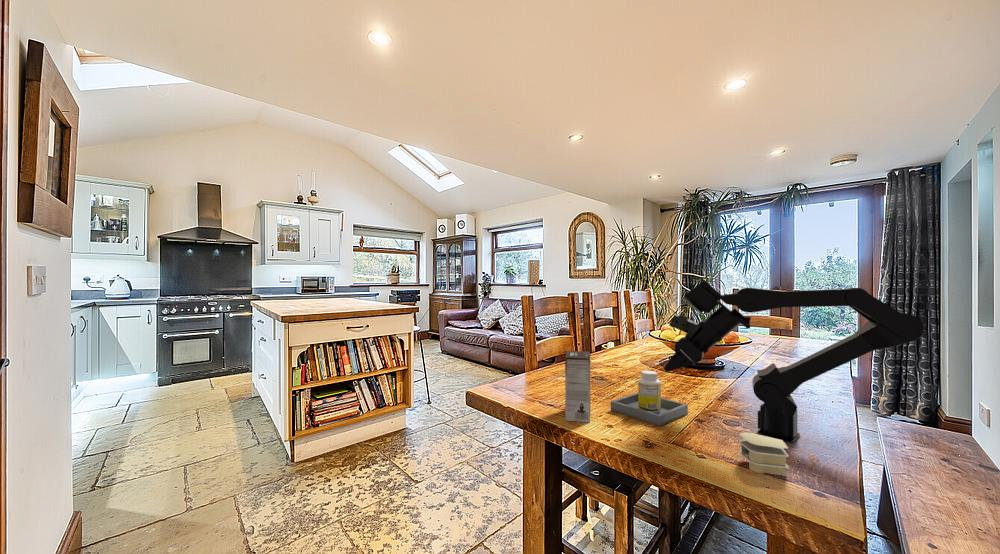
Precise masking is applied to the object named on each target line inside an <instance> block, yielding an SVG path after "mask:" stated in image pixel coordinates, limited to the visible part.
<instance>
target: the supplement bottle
mask: <svg viewBox="0 0 1000 554" xmlns="http://www.w3.org/2000/svg"><path fill="white" fill-rule="evenodd" d="M640 376H641V377H640V378H639V379H638V381H637V382H638V384H637V385H638V391H637V393H638V392H639V393H638V396H639V409H642V410H645V411H648V412H651V413H658V412H660V411H661V398H662V396H661V394H662V392H661V391H662V390H661V388H662V387H661V386H662V382H661V381H660V379H658V372H656V371H653V370H641V375H640Z"/></svg>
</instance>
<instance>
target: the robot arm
mask: <svg viewBox="0 0 1000 554" xmlns="http://www.w3.org/2000/svg"><path fill="white" fill-rule="evenodd" d="M682 298H683V299H684V300H685V301H686V303H688V304H689V305H691V306H692V308H694V309H695V310H696V311H697V312H698V313H700V314H702V313H703V312H704V313H706V314H709V316H708V317H706V318H705V319H704V320H701V321H700V322H699V323H697V322H695V321H694V320H691V319H689V318H688V316H685V315H683V314H678V313H674V314H673V316H672V318H671V320H670V322H669V324H668V326H669V327H671V328H674V329H677V330H679V331H680V332H684V333H685V336H683V337H681V338H680V339H678V340H677V341H676V342H675V344H674V350H675V351H674V354H673V355H672V357H671V358H670V360H669V361H668V362H667V363H666V365H664V367H663V370H664V371H665V372H666V373H667V372H672V371H675V370H678V369H682V368H685V367H689V366H693V365H696V364H698V363H699V362H700V361H702V359H703V358H704V356H705V355H704V354H706V353H707V352H709V351H710V350H711V349H712V348H713V347H714V346H715V345H717V344H718V343H720V342H721V341H722V340H723V339H724V338H725V337H726V336H728V335H729V334H730V333H731V332H732V331H734V330H735V329H736V328H737V327H739V326H740V325H742V326H744V327H745V328H746V329H748V330H749V329H750V328H751V316H744V315H743V314H742V313H741V312H740V311H742V312H744V313H757V312H763V311H769V310H775V309H779V308H800V307H801V308H805V307H806V308H808V307H810V308H814V307H817V308H818V307H850V308H851V309H852V310H853V311H854V312H856V313H858V314H859V316H861V317H863V318H864V319H865V320H867V321H866V322H865V323H864V324H863V325H862V326H861V327H859V329H857V331H855V332H854V333H853V334H851V335H849V336H847V337H845V338H843V339H840V340H839V341H837V342H835V343H833V344H831V345H829V346H827V347H824V348H822V349H820V350H819V351H816V352H814V353H812V354H810V355H808V356H806V357H804V358H802V359H800V360H798V361H796V362H794V363H792V364H790V365H787V366H782V367H777V365H776V364H775V363H774V362H772V363H771V364H769V365H768V366H767V367H766V368H763V369H758V370H757V373H756V374H755V375H754V376H753V378H752V381H751V384H752V389H753V393H754V396H755V397H756V398H757V399H759V401H761V402H763V403H762V404H760V407H759V408H760V409H759V410H757V429H758V430H757V435H762V436H766V437H771V438H775V439H780V440H783V442H785V443H791V444H792V443H794V442H795V441H796V440H798V438H800V436H801V433H799V432H798V406H797V404H796V402H795V400H794V398H793V396H792V395H791V394H793V393H794V392H795V391H796V390H797V389H798V388H799V387H800V386H801V385H802V384H803V383H806V382H808V381H810V380H812V379H815V378H817V377H819V376H821V375H823V374H826V373H828V372H831V371H832V370H834V369H836V368H839V367H840V366H843V365H845V364H847V363H850V362H852V361H853V360H855V359H857V358H860V357H862V356H864V355H867V354H868V353H871V352H874V351H879V350H884V349H888V348H894V347H897V346H901V345H905V344H909V343H912V342H913V343H914V342H916V341H917V340H919V339H920V338H922V337H923V336H924V332H925V325H924V323H923V321H922V320H921V319H920V318H918V317H917V315H913V314H911V313H908V312H907V313H906V312H901V311H898V310H897V309H895V308H894V307H892V306H890V305H889V304H888V303H885V302H884V301H881V300H880V299H878V298H876V297H875V296H873V295H871V294H870V293H869V292H868V291H867V290H865V289H864V288H861V287H847V288H834V289H833V288H832V289H809V290H808V289H807V290H806V289H804V290H803V289H802V290H801V289H800V290H775V289H774V290H773V289H766V288H755V287H743V288H741V289H739V290H738V291H736V293H729V294H727V293H725V294H721V293H720V292H719V291H717V290H716V288H714V287H713V286H712V285H711V284H710V283H709V281H707V280H705V279H703V280H702V281H701V282H700V283H698V284H697V285H695V287H693V288H691V289H690V290H689V291H688V292H687V293H686V294H685V295H684V296H683V297H682ZM720 300H721V301H722V302H723V303H722V302H721V301H720ZM724 304H726V305H729V306H736V308H732V309H729V307H727V306H726V305H724ZM717 306H719V307H718V308H717V309H715V308H716V307H717ZM737 308H738V309H739V310H740V311H739V310H738V309H737ZM714 309H715V311H714V312H712V310H714ZM711 312H712V313H711ZM710 313H711V314H710Z"/></svg>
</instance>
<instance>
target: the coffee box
mask: <svg viewBox="0 0 1000 554" xmlns="http://www.w3.org/2000/svg"><path fill="white" fill-rule="evenodd" d="M564 359H565V361H564V362H565V363H564V364H565V366H564V374H565V376H564V378H565V379H564V381H565V382H564V383H565V384H564V387H565V388H564V390H565V391H564V392H565V393H564V394H565V396H564V399H565V400H564V402H565V403H564V405H565V407H564V409H565V411H564V412H565V413H564V414H565V416H564V418H565V421H566V422H579V423H580V422H581V423H591V379H592V378H591V376H592V375H591V366H592V365H591V352H590V351H587V350H586V351H583V350H582V351H581V350H566V351H565V357H564Z"/></svg>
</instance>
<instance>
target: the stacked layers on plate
mask: <svg viewBox="0 0 1000 554" xmlns="http://www.w3.org/2000/svg"><path fill="white" fill-rule="evenodd" d="M739 436H741V437H742V439H740V440H738V441H739V442H738V443H739V444H741V450H740V449H739V451H738V453H739V454H740V455H741V456H742V457H743V458H744V459H745V460H747V462H748V467H749V468H748V469H749V470H750V471H752V472H753V473H758V474H771V475H776V476H781V475H782V477H786V476H787V474H786V473H787V470H786V469H790V468H789V465H788V464H787V463H786V462H787V460H786V459H787V458H789V457H790V456H789V454H788V453H787V452H786V450H785V449H789V447H788V445H787V444H786V442H785V441H783V440H780V439H776V438H772V437H769V436H765V435H761V434H758V433H752V432H745V431H744V432H741V433H739Z"/></svg>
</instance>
